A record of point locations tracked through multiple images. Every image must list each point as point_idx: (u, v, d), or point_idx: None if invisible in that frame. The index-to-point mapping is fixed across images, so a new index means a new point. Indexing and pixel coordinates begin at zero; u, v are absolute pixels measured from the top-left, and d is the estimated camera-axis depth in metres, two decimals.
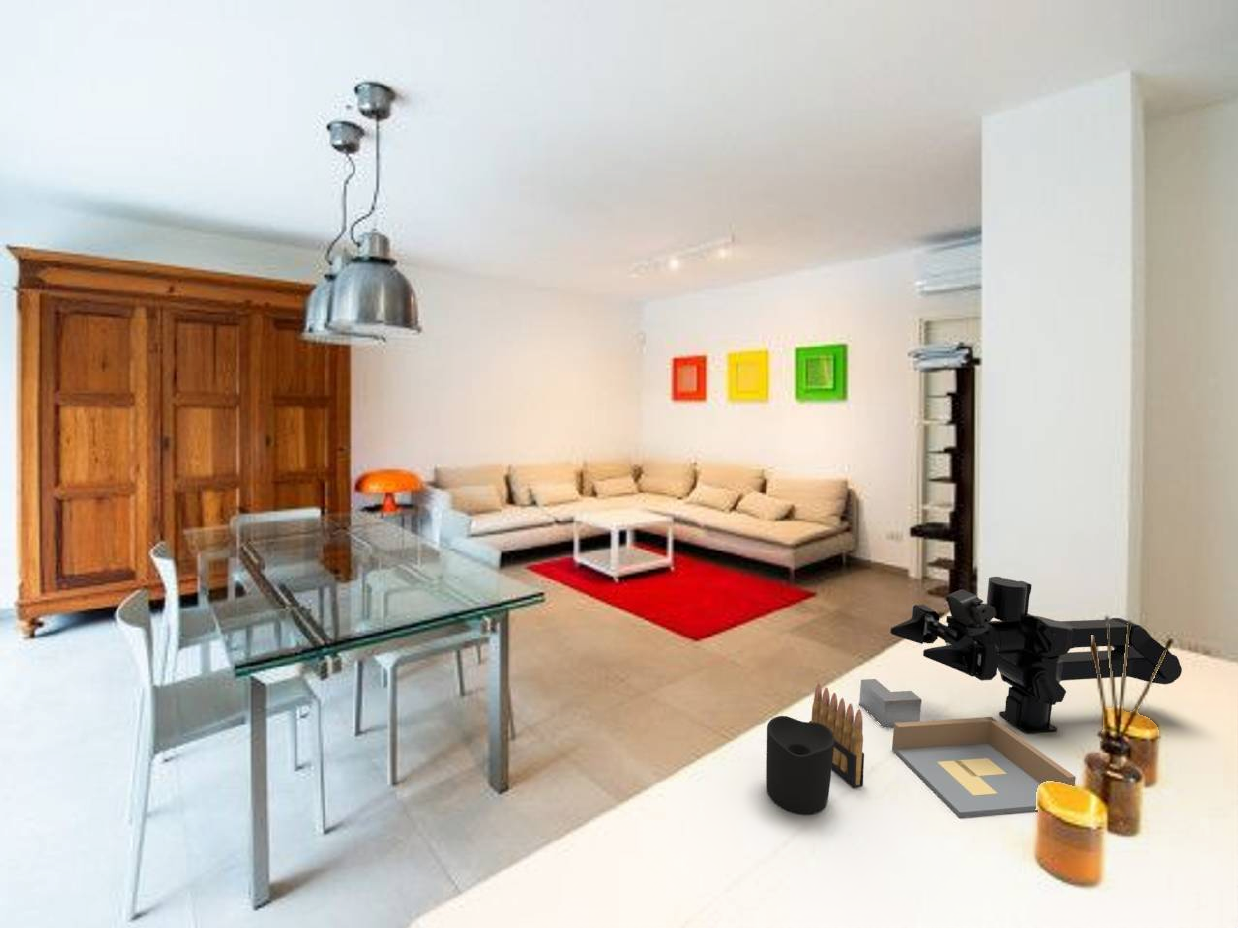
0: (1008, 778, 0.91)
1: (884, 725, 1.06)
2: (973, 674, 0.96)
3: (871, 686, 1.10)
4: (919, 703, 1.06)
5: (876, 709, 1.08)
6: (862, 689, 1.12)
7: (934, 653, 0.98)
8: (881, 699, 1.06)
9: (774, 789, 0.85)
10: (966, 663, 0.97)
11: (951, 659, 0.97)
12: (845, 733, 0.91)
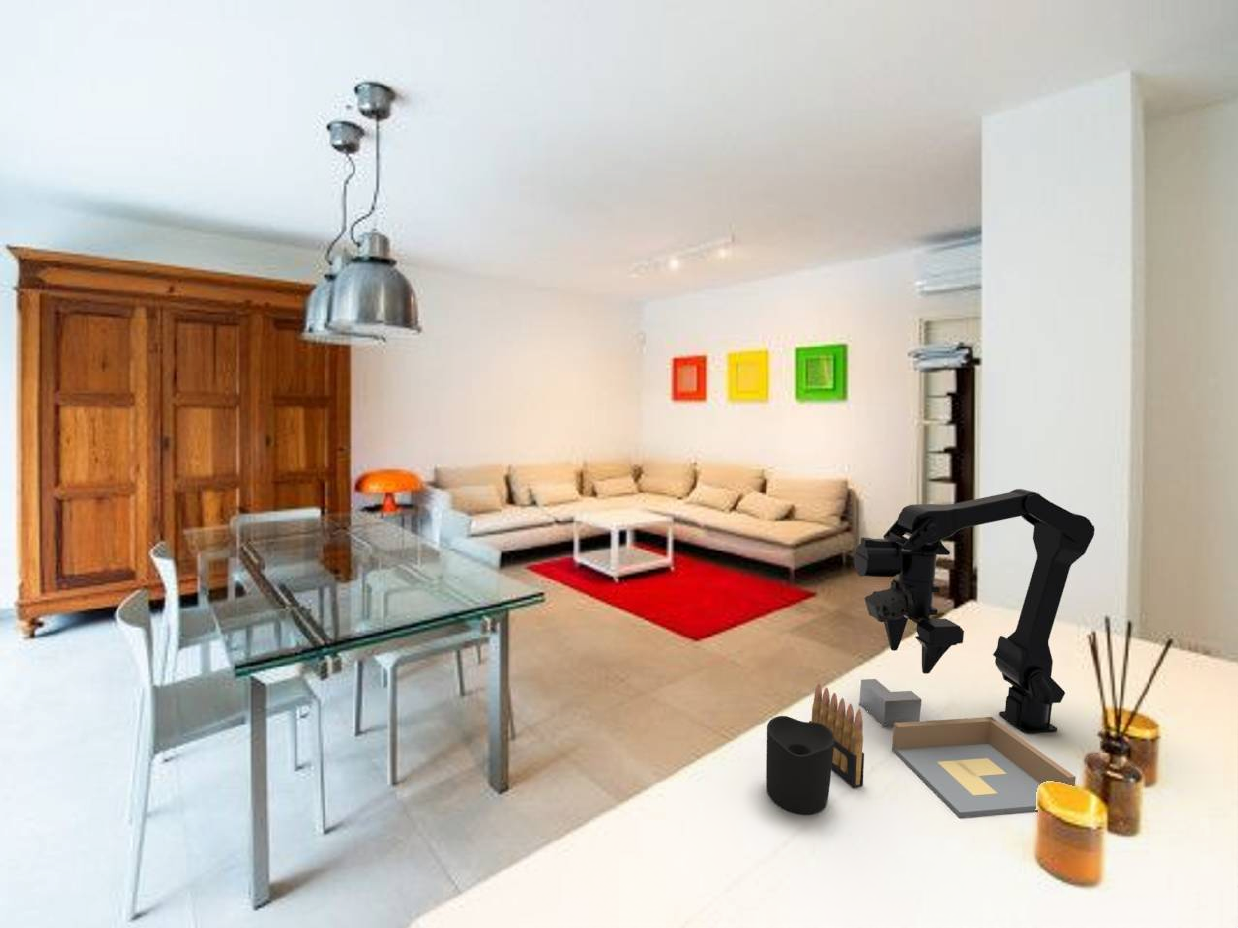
0: (1008, 778, 0.91)
1: (884, 725, 1.06)
2: (955, 644, 0.98)
3: (871, 686, 1.10)
4: (919, 703, 1.06)
5: (876, 709, 1.08)
6: (862, 689, 1.12)
7: (927, 666, 1.01)
8: (881, 699, 1.06)
9: (774, 789, 0.85)
10: None
11: (936, 652, 1.00)
12: (845, 733, 0.91)
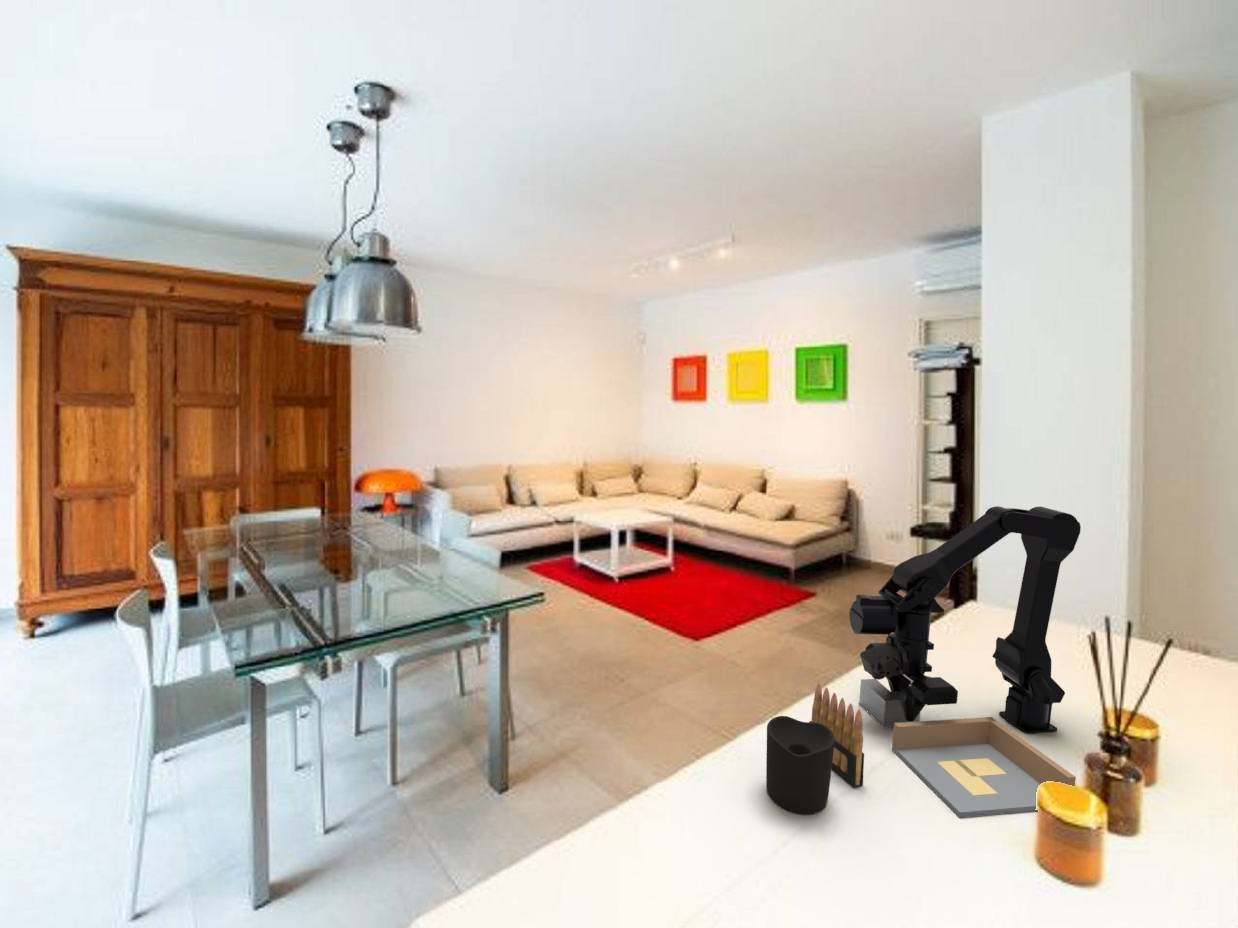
0: (1008, 778, 0.91)
1: (884, 725, 1.06)
2: None
3: (871, 686, 1.10)
4: None
5: (876, 709, 1.08)
6: (862, 689, 1.12)
7: (911, 715, 1.05)
8: (881, 699, 1.06)
9: (774, 789, 0.85)
10: None
11: (920, 702, 1.04)
12: (845, 733, 0.91)
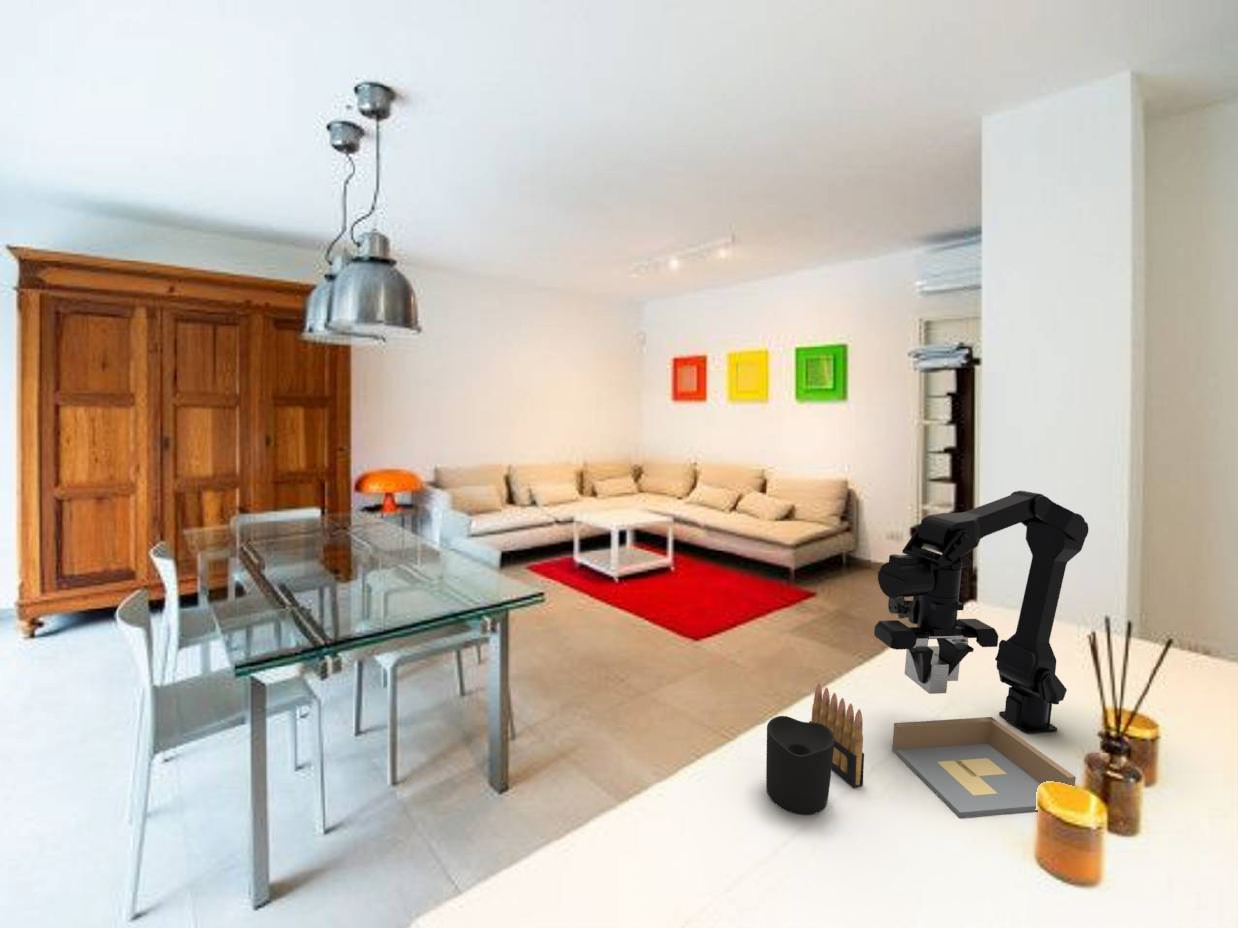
0: (1008, 778, 0.91)
1: (905, 672, 1.04)
2: (914, 651, 0.96)
3: (936, 647, 1.04)
4: (930, 668, 0.98)
5: None
6: None
7: (918, 673, 0.99)
8: None
9: (774, 789, 0.85)
10: None
11: (919, 660, 0.98)
12: (845, 733, 0.91)
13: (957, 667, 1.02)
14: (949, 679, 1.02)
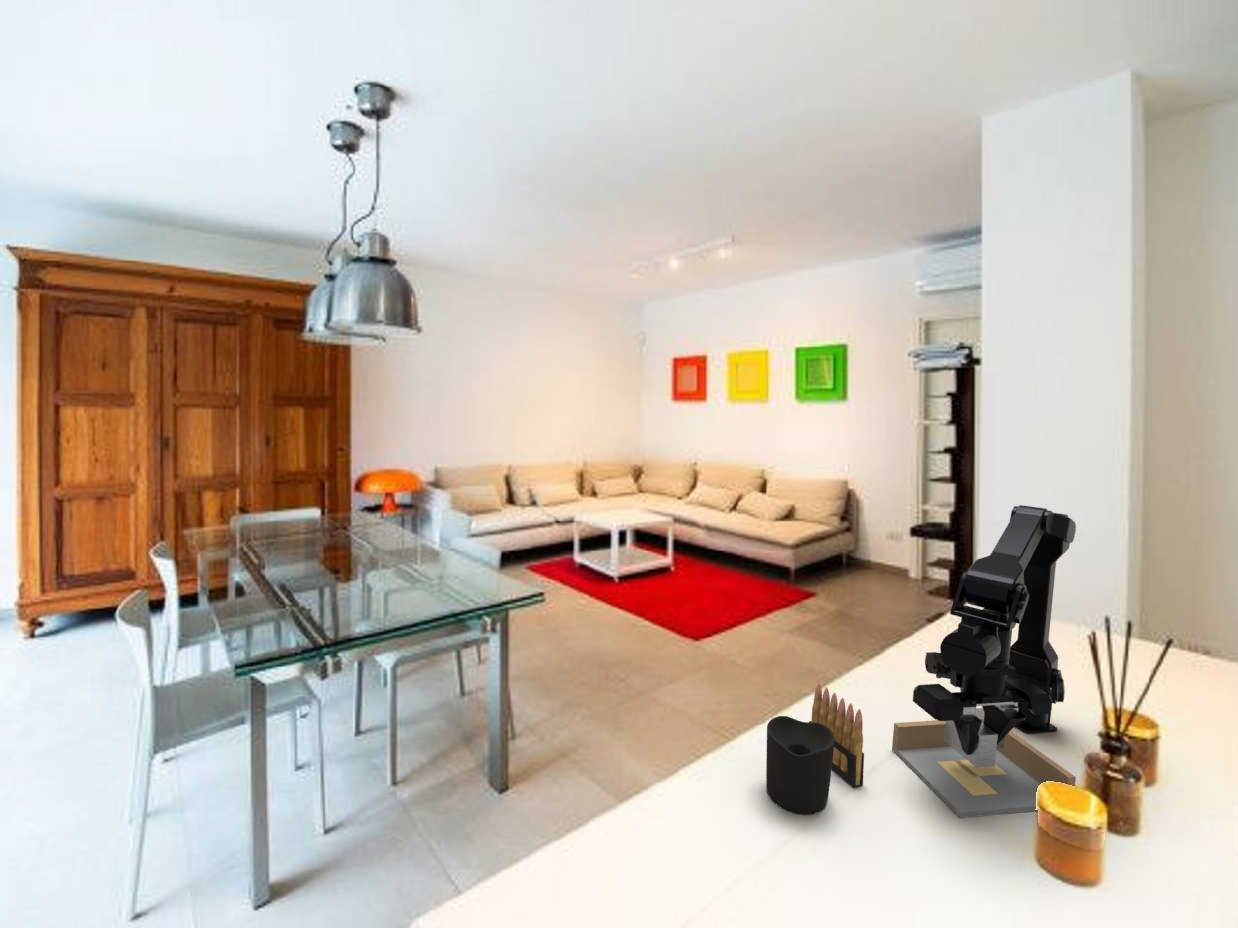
0: (1008, 778, 0.91)
1: (944, 738, 0.93)
2: (961, 721, 0.85)
3: (978, 709, 0.93)
4: (977, 739, 0.87)
5: None
6: None
7: (962, 743, 0.89)
8: None
9: (774, 789, 0.85)
10: None
11: (964, 730, 0.87)
12: (845, 733, 0.91)
13: None
14: None
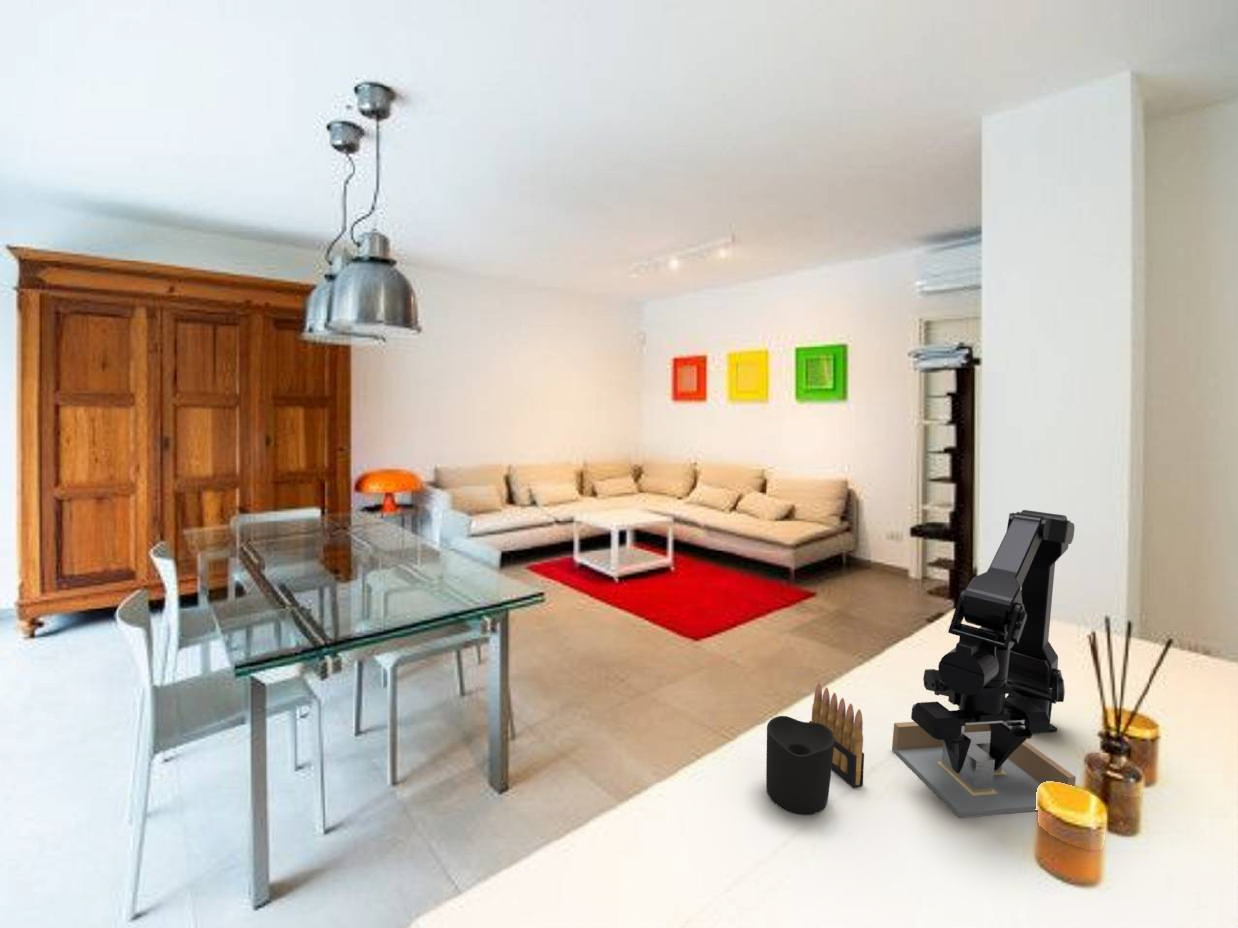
0: (1008, 778, 0.91)
1: (942, 761, 0.94)
2: (950, 740, 0.85)
3: (976, 733, 0.94)
4: (974, 764, 0.87)
5: None
6: None
7: (952, 761, 0.89)
8: None
9: (774, 789, 0.85)
10: None
11: (954, 748, 0.87)
12: (845, 733, 0.91)
13: None
14: None
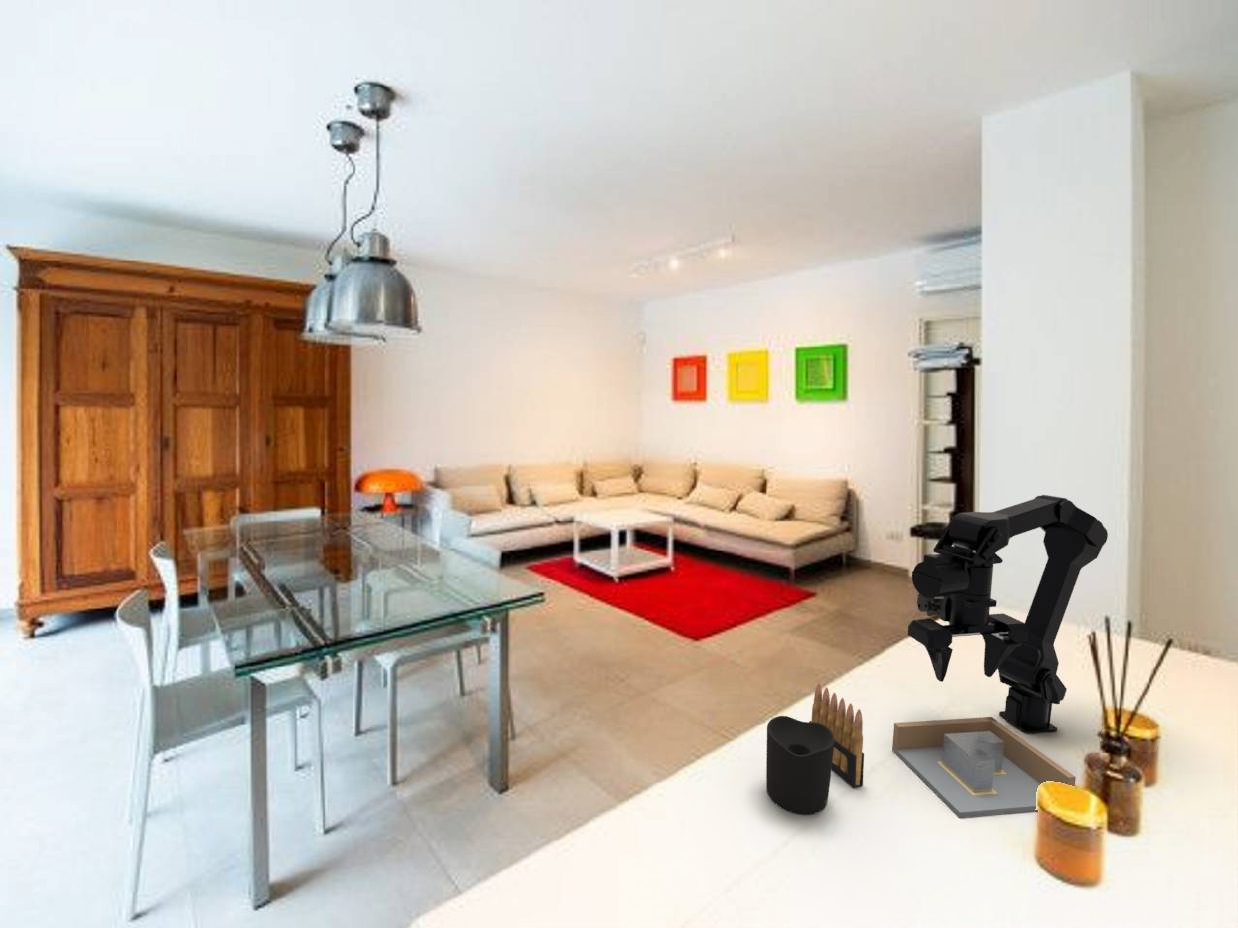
0: (1008, 778, 0.91)
1: (942, 761, 0.94)
2: (934, 650, 0.96)
3: (976, 733, 0.94)
4: (974, 764, 0.87)
5: None
6: None
7: (936, 671, 1.00)
8: (950, 734, 0.94)
9: (774, 789, 0.85)
10: None
11: (938, 659, 0.98)
12: (845, 733, 0.91)
13: (1001, 757, 0.92)
14: None
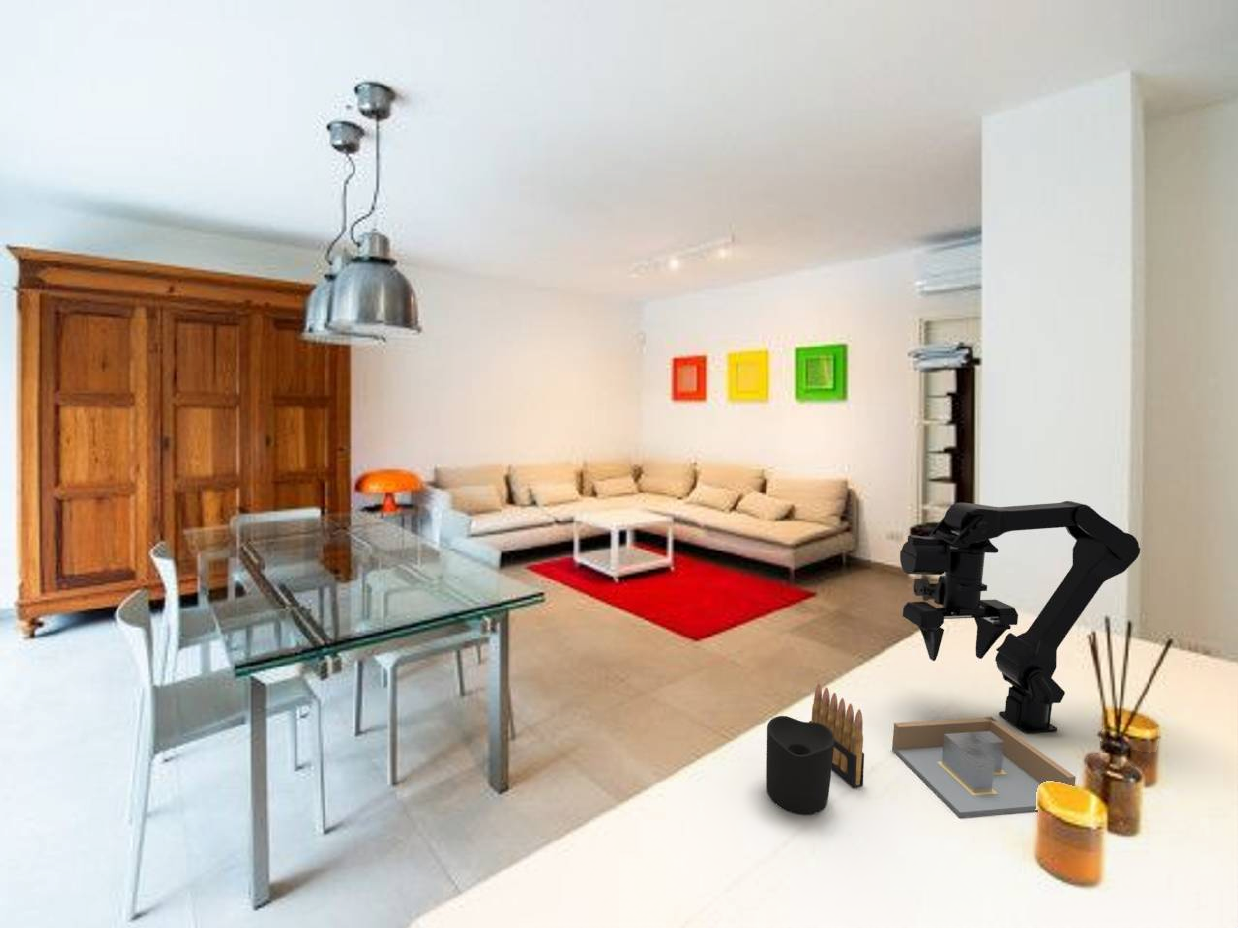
0: (1008, 778, 0.91)
1: (942, 761, 0.94)
2: (926, 630, 1.02)
3: (976, 733, 0.94)
4: (974, 764, 0.87)
5: None
6: None
7: (929, 651, 1.06)
8: (950, 734, 0.94)
9: (774, 789, 0.85)
10: None
11: (930, 639, 1.05)
12: (845, 733, 0.91)
13: (1001, 757, 0.92)
14: None
